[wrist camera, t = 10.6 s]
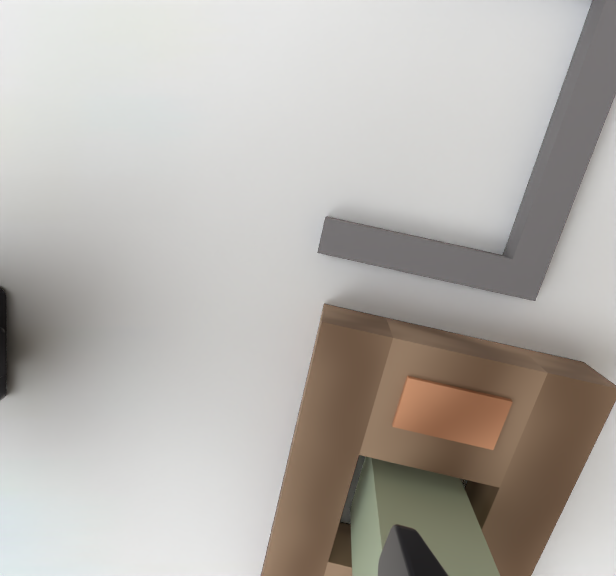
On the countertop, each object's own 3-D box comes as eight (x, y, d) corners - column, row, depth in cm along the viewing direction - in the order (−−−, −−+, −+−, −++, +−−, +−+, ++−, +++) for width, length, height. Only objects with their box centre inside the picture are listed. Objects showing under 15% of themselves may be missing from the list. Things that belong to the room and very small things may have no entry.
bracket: (318, 249, 18) (317, 252, 17) (394, -95, 14) (398, -115, 13) (524, 294, 17) (535, 301, 16) (651, -43, 14) (675, -60, 13)
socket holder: (259, 583, 23) (248, 634, 21) (324, 303, 18) (321, 323, 16) (462, 633, 23) (479, 690, 20) (583, 362, 18) (624, 391, 15)
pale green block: (350, 508, 21) (354, 658, 15) (369, 441, 20) (384, 571, 13) (428, 526, 21) (470, 686, 14) (453, 460, 20) (510, 600, 13)
